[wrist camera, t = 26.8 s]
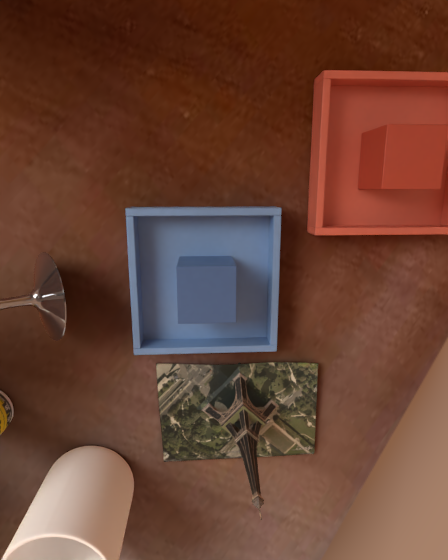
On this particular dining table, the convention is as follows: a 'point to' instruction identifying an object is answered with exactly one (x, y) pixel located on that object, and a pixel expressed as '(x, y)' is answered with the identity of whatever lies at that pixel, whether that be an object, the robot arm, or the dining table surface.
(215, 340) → the blue tray
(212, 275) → the blue block
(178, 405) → the eiffel tower figurine
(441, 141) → the red block
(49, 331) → the wine glass
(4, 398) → the supplement bottle
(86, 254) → the dining table surface
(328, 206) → the red tray
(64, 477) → the cup
